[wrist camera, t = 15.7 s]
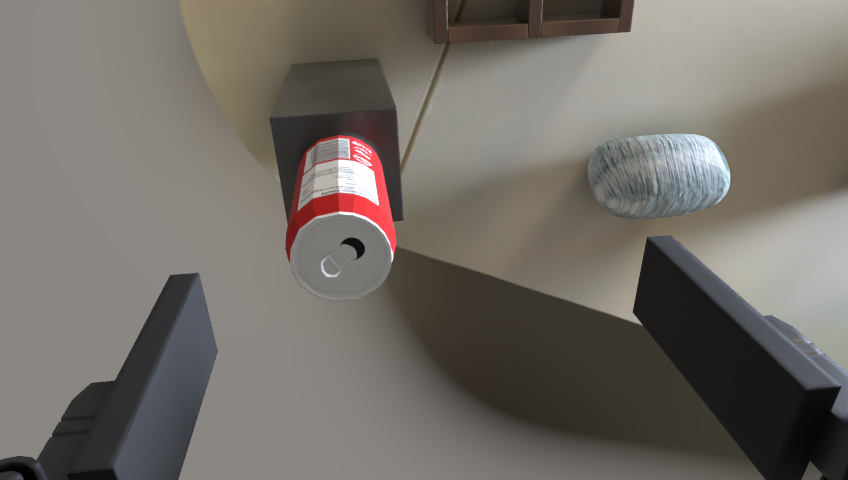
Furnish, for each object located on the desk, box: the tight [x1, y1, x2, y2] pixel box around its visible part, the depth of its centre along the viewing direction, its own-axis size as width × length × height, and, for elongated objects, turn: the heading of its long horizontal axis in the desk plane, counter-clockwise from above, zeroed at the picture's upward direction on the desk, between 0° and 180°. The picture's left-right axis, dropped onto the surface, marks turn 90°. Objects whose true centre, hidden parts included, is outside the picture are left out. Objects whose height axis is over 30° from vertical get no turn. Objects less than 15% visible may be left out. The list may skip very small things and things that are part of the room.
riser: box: [270, 59, 404, 223], centre depth 45 cm, size 8×8×18 cm
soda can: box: [286, 135, 396, 302], centre depth 32 cm, size 6×6×12 cm
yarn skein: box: [588, 134, 730, 219], centre depth 57 cm, size 14×10×10 cm
